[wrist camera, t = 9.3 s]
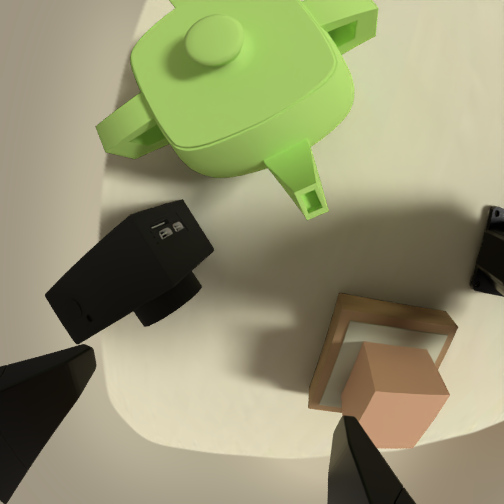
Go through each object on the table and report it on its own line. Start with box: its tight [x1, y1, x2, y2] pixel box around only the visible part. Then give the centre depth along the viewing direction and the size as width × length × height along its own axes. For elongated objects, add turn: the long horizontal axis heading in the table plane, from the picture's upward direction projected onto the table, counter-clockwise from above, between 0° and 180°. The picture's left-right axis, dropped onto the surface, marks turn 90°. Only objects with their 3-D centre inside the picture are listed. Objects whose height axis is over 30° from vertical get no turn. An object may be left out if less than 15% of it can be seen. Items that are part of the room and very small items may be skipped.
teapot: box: [96, 0, 378, 220], centre depth 13 cm, size 12×12×10 cm
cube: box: [341, 341, 450, 448], centre depth 16 cm, size 5×5×5 cm
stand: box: [308, 293, 458, 413], centre depth 20 cm, size 9×9×3 cm
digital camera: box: [45, 199, 214, 344], centre depth 19 cm, size 10×5×7 cm, turn 122°
